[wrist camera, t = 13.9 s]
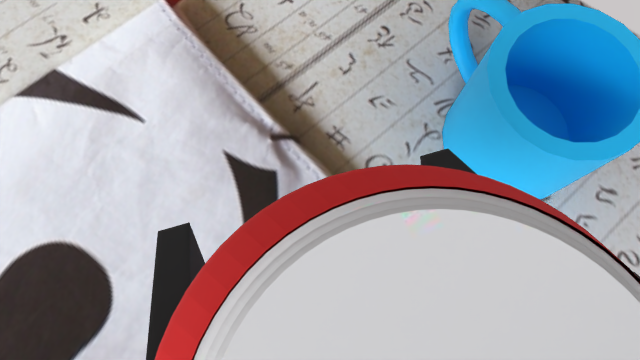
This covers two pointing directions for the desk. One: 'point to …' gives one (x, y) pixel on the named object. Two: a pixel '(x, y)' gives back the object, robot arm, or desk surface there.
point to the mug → (544, 94)
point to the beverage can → (408, 278)
